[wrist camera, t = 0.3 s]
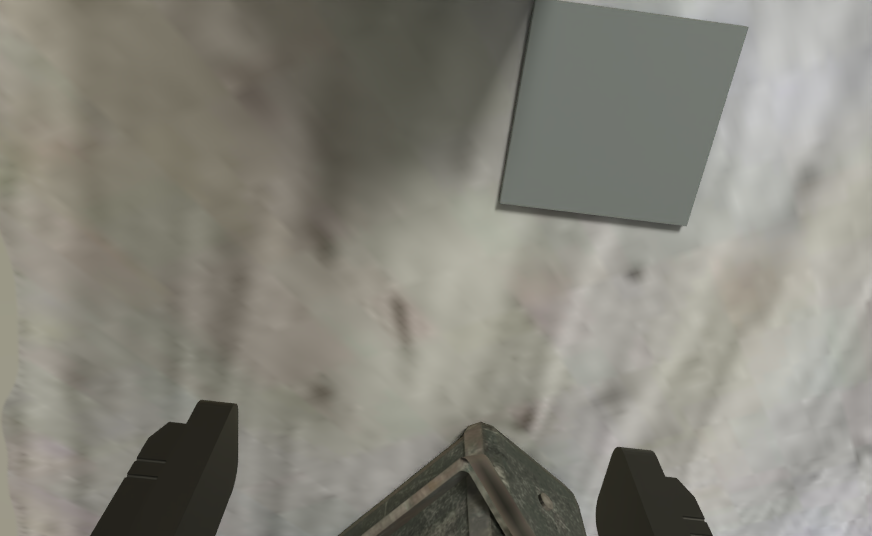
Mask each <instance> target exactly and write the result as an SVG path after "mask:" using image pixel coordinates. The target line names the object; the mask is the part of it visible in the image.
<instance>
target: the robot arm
mask: <svg viewBox="0 0 872 536" xmlns="http://www.w3.org/2000/svg"><path fill="white" fill-rule="evenodd" d="M237 466H238V406H237V404H234V403H225V402H216V401H207V400H200V401H199V402H198V403H197V405H196V407H195V408H194V410H193V412H192V414H191V416H190V418H189V420H188V422H187V423H186V424H183V423H174V422H168V423H167V424H166V425H165V426H163V427H162V428H161V429H159V430H158V431H157V432H156V433H154V434H153V435H152V436H150V437H149V438H148V440H147V441H146V443H145V445H144V446H143V448H142V450H141V452H140V453H139V455H138V457H137V460H136V461H135V462H134V463H133V465H132V467H131V468H130V470H129V472H128V473H127V477H126V478H124V480H123V482H122V483H121V485H120V487H119V488H118V490H117V492H116V493H115V495H114V497H113V498H112V500H111V502H110V503H109V505H108V507H107V508H106V510H105V512H104V514H103V515H102V517H101V519H100V520H99V522H98V524H97V525H96V527H95V529H94V530H93V532H92V534H91V535H90V536H215V535H216V532H217V529H218V527H219V524H220V522H221V519H222V516H223V514H224V511H225V508H226V506H227V503H228V501H229V498H230V495H231V493H232V490H233V487H234V483H235V478H236V473H237ZM596 526H597V531H598V535H599V536H713V535H712V533H711V531H710V529H709V527H708V524H707V522H704V516H703V514H702V512H701V510H700V507H699V505H698V503H697V501H696V499H695V497H694V496H693V495H692V494H691V493H690V492H689V491H688V490H687V489H686V487H685V486H684V485H683V484H682V483H681V482H680V481H679V480H678V479H677V478H672V477H665V475H664V473H663V470H662V468H661V466H660V463H659V461H658V459H657V456H656V455H655V453H654V452H653V451H651V450H642V449H633V448H624V447H617V448H615V450H614V451H613V453H612V456H611V459H610V462H609V465H608V469H607V472H606V475H605V478H604V481H603V484H602V487H601V490H600V493H599V496H598V500H597V505H596Z"/></svg>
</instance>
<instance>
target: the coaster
mask: <svg viewBox="0 0 872 536" xmlns="http://www.w3.org/2000/svg"><path fill="white" fill-rule="evenodd" d="M747 30H748V27H746V26H739V25H732V24H725V23H718V22H711V21H703V20H696V19H689V18H682V17H674V16H667V15H660V14H653V13H645V12H638V11H631V10H624V9H617V8H609V7H602V6H595V5H588V4H580V3H573V2H566V1H559V0H534V5H533V11H532V16H531V22H530V28H529V33H528V39H527V45H526V50H525V56H524V62H523V67H522V73H521V78H520V84H519V90H518V95H517V101H516V107H515V112H514V118H513V124H512V129H511V135H510V141H509V146H508V152H507V158H506V163H505V169H504V174H503V180H502V186H501V191H500V197H499V203H500V204H508V205H516V206H524V207H533V208H541V209H549V210H557V211H566V212H574V213H582V214H590V215H598V216H607V217H615V218H623V219H631V220H640V221H648V222H656V223H664V224H672V225H681V226H687V223H688V220H689V217H690V213H691V210H692V207H693V204H694V201H695V197H696V194H697V191H698V188H699V185H700V181H701V178H702V175H703V172H704V169H705V165H706V162H707V159H708V156H709V152H710V149H711V146H712V143H713V140H714V136H715V133H716V130H717V127H718V124H719V120H720V117H721V114H722V111H723V107H724V104H725V101H726V98H727V95H728V91H729V88H730V85H731V82H732V79H733V75H734V72H735V69H736V66H737V62H738V59H739V56H740V53H741V50H742V46H743V43H744V40H745V37H746V34H747Z"/></svg>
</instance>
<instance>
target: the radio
mask: <svg viewBox="0 0 872 536" xmlns="http://www.w3.org/2000/svg"><path fill="white" fill-rule="evenodd" d="M338 536H586V532H585V528H584V524H583V520H582V517H581V513H580V509H579V505H578V503H577V501H576V499H575V496H574V494H573V493H572V492H571V491H570V490H569V489H568V488H567V487H566V486H565V485H564V484H563V483H562V482H561V481H559V480H558V479H557V478H556V477H554V476H553V475H552V474H551V473H549V472H548V471H547V470H546V469H545V468H543V467H542V466H541V465H540V464H538V463H537V462H536V461H535V460H534V459H532V458H531V457H530V456H529V455H527V454H526V453H525V452H524V451H522V450H521V449H520V448H519V447H518V446H516V445H515V444H514V443H513V442H511V441H510V440H509V439H508V438H506V437H505V436H504V435H503V434H502V433H500V432H499V431H498V430H497V429H495V428H494V427H493V426H491V425H488V424H485V423H482V422H479V423H476V424H473V425H470V426H468V427H467V429H466V431H465V432H464V436H462V437H461V438H460V439H459V440H457V441H456V442H455V443H454V444H452V445H451V446H450V447H449V448H447V449H446V450H445V451H444V452H442V453H441V454H440V455H439V456H437V457H436V458H435V459H434V460H432V461H431V462H430V463H429V464H427V465H426V466H425V467H424V468H422V469H421V470H420V471H418V472H417V473H416V474H415V475H413V476H412V477H411V478H410V479H408V480H407V481H406V482H405V483H403V484H402V485H401V486H400V487H398V488H397V489H396V490H395V491H393V492H392V493H391V494H390V495H388V496H387V497H386V498H385V499H383V500H382V501H381V502H380V503H378V504H377V505H376V506H375V507H373V508H372V509H371V510H370V511H368V512H367V513H366V514H365V515H363V516H362V517H361V518H360V519H358V520H357V521H356V522H354V523H353V524H352V525H351V526H349V527H348V528H347V529H346V530H344V531H343V532H342V533H341V534H339V535H338Z"/></svg>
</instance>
